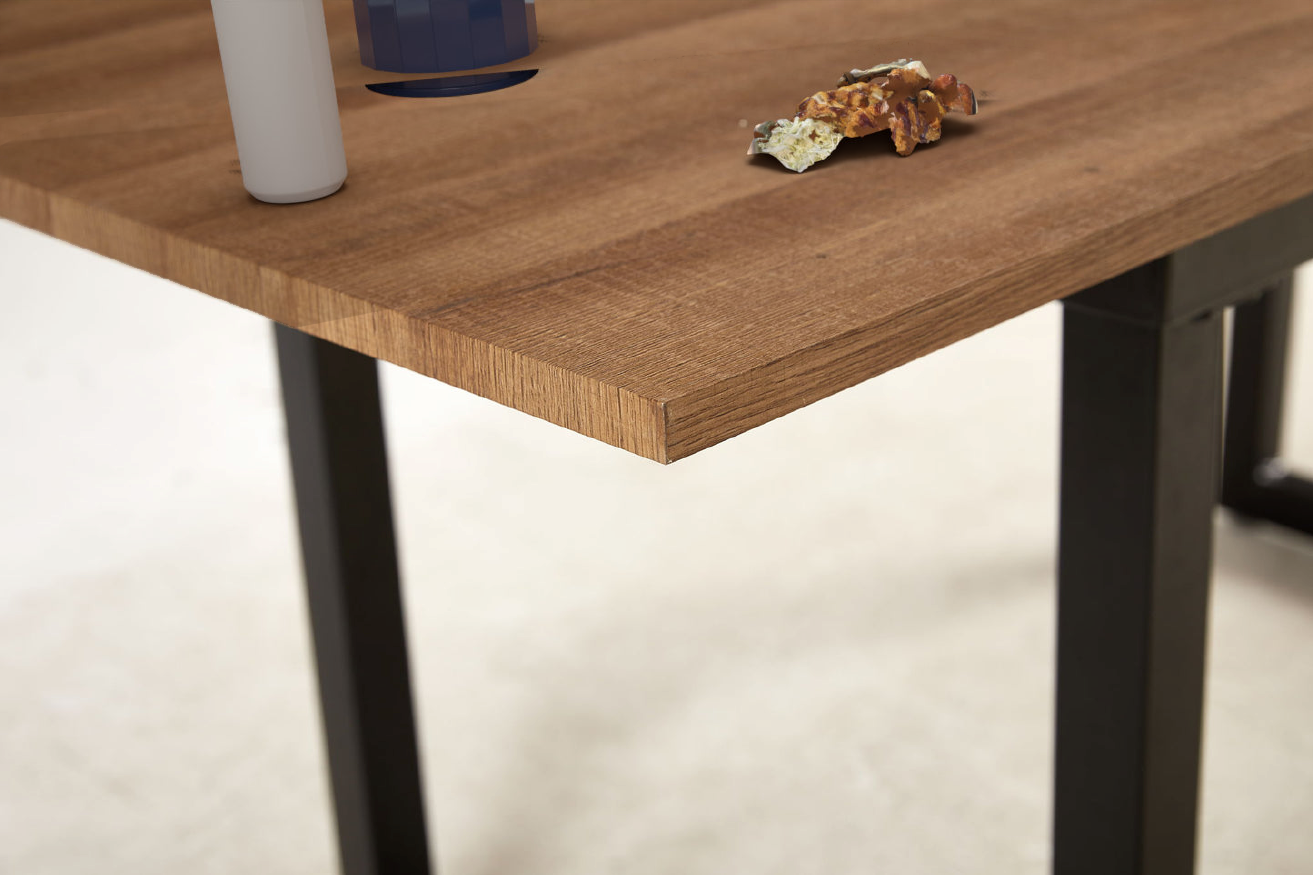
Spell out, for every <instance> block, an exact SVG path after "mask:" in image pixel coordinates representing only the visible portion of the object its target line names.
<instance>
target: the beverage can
mask: <svg viewBox="0 0 1313 875" xmlns="http://www.w3.org/2000/svg"><path fill="white" fill-rule="evenodd" d="M323 4H324V3H323V0H210V5H211V10H212V16H213V22H214V26H215V32H216V39H217V43H218V47H219V49H218V50H219V54H220V59H221V60H220V61H221V65H222V71H223V72H222V73H223V77H224V83H225V88H226V94H227V99H228V104H229V110H230V116H231V121H232V127H233V132H234V138H235V143H236V150H237V154H238V160H239V165H240V171H241V176H242V182H243V187H244V189H245V190H246V191H247V192H248V193H249V194H250V195H251V196H253V197H254V198H255V199H257V201H260V202H261V201H262V202H264V203H270V204H295V203H303V202H309V201H315V200H318V199H322V198H325V197H328V196H329V195H331V194H335V193H336V192H337V191H338V190H339V189H341V187H342V185H343V183H344V182H345V180H346V178H347V177H348V174H349V172H348V166H347V165H348V164H347V159H346V152H345V146H344V138H343V132H342V126H341V119H340V112H339V105H338V99H337V92H336V85H335V79H334V72H333V65H332V57H331V52H330V45H329V37H328V31H327V25H326V18H325V10H324V5H323Z"/></svg>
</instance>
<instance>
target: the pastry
mask: <svg viewBox="0 0 1313 875" xmlns="http://www.w3.org/2000/svg"><path fill="white" fill-rule="evenodd" d="M913 59H914V58H912V57H911V58H909V61H908V62H907V59H906V58H901V59H900V58H899V59H897V61H892V62H890V63H882V62H881V63H880V64H877V65H874V66H873V67H872V68H870V69H869V68H868V69H866V70H860V69H858V68H854V69H852V70H851V71H845V72H843V75H842V76H841V77H840V78H839V79H838V80H837V82H836V83H835V86H836V88H837V89H833V90H827V91H818V92H816V93H815V94H814V95H812V96H811V97H809V96H807V97H805V98H804V99H803V100H802V101H801V102H800V103H799V104H797V106H796V109H795V115H794V116H793V117H792V118H791V119H790V120H788V119H787V118H781V119H777V120H776V122H775V121H774V120H765V121H764V122H763V123H759V124H756V125H755V126H754V127H753V138H752V140H751V143H750V146H749V148H748V150H747V152H746V153H747V154H746V155H755V154H761V153H762V154H769V155H771V156H773V157H775V158H776V159H777V160H778V161H779V162H780V163H781V164H782V165H783V166H784V167H785V168H786V169H789V170H793V171H797V172H798V173H802V172H803V171H804V170H806V169H808V167H809V166H813V165H814V164H815V162H818V161H822V160H825V159H827V157H828V156H831V153H833V151H834V150H836V149H837V146H838V145H839V143H840V142H841V140H843V138H844V137H848V138H849V139H850V138H857V137H858V138H859V137H861V138H863V137H864V136H866V135H870V134H874V133H877V132H880V131H883V130H888V129H890V132H892V133H891V136H890V137H891V139H892V141H893V142H894V145H895V146H896V153H898V154H900V155H901V156H905V157H908V156H909V155H911V154H912V153H913V151H914V149H915V147H916V146H917V144H918V143H920V144H924V143H925V144H929V142H931V141H933V142H935V141H937V140H940V138H941V136H942V131H941V130H942V128H943V125H942V124H941V122H942V119H943V118H945V115H947V113H948V114H949V113H950V111H952V110H954V108H960V109H961V111H962V112H963V113H965V115H966V116H967V117H969V116H975V115H976V114H977V113H978V110H979V109H978V108H979V107H978V106H979V105H978V101H977V98H976V95H975V93H974V90H973V89H972V88H971V87H970V86H969V85H967V84H966V83H964V82H961V81H960V80H959V79H958V78H957V76H955V75H953V74H951V73H943V74H941V75H939V76H938V77H937V78H935V80H933V79H932V76H931V74H930V73H929V72H928V70H927V69H926V68H927V67H925V65H924V63H923V62H922V61H921V60H914V61H913ZM877 78H887V80H886V82H872V80H873V79H877ZM870 82H872V83H870Z"/></svg>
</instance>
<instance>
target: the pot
mask: <svg viewBox="0 0 1313 875" xmlns="http://www.w3.org/2000/svg"><path fill="white" fill-rule="evenodd" d="M352 7H353V13H354V20H355V21H354V22H355V28H356V35H357V42H358V50H359V56H360V64H361V65H362V66H363V67H367V68H369V69H372V70H375V71H379V72H387V73H388V72H389V73H396V74H441V73H442V74H443V73H451V72H452V73H453V72H462V71H470V70H478V69H484V68H488V67H493V66H499V65H504V64H508V63H512V62H514V61H517V60H520V59H522V58H525V57H528V56H530V55H531V54H533V53H534V52H535V51H536V50H538V48H539V38H538V36H539V35H538V28H537V27H538V26H537V15H536V3H535V0H352ZM539 71H540V68H532V69H522V70H520V69H519V70H511V71H498V72H485V73H478V74H477V73H476V74H464V75H454V76H444V77H435V78H434V77H432V78H421V79H411V80H399V81H389V82H388V81H387V82H378V83H366V84H365V83H364V87H365V88H366V89H367V90H369V91H370V92H373V93H375V94H380V95H384V96H390V97H397V98H398V97H399V98H410V99H411V98H413V99H414V98H415V99H416V98H417V99H420V98H421V99H427V98H431V99H432V98H449V97H460V96H462V97H463V96H470V95H475V94H483V93H488V92H489V93H490V92H494V91H497V90H502V89H506V88H510V87H513V86H516V85H519V84H522V83H525V82H526V81H529V80H531V79H533V78H534V77H535V76H536V75H537V74H538V73H539Z"/></svg>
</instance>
